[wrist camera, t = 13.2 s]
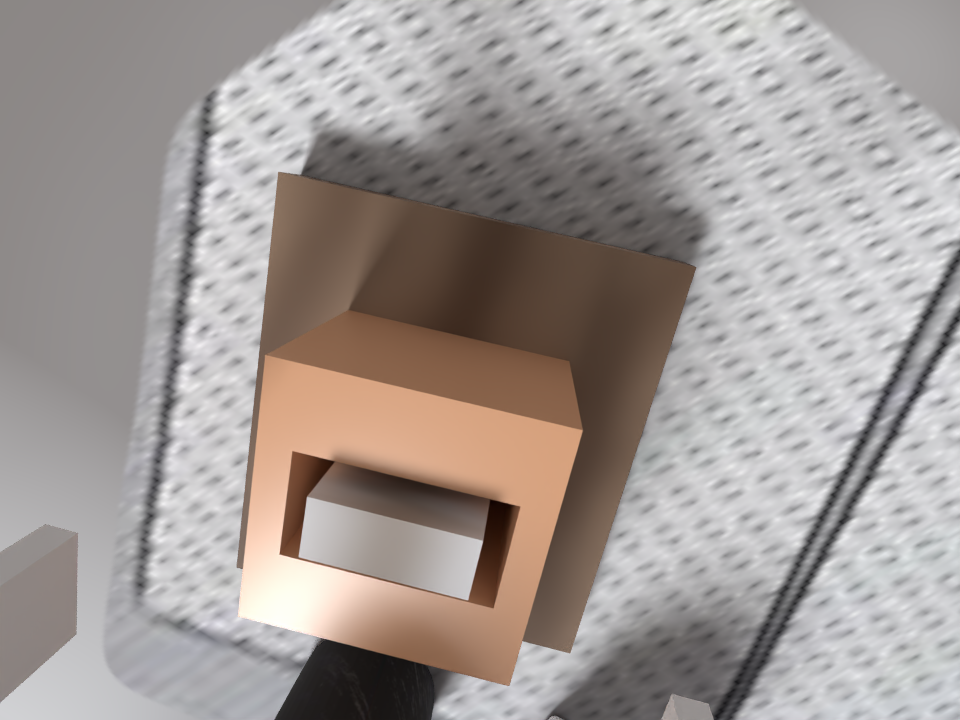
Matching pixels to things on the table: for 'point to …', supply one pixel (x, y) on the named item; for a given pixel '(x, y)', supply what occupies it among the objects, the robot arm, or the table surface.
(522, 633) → the tan cube with window
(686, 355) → the table surface
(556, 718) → the medicine bottle
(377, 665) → the travel mug
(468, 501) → the stand
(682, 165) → the table surface
